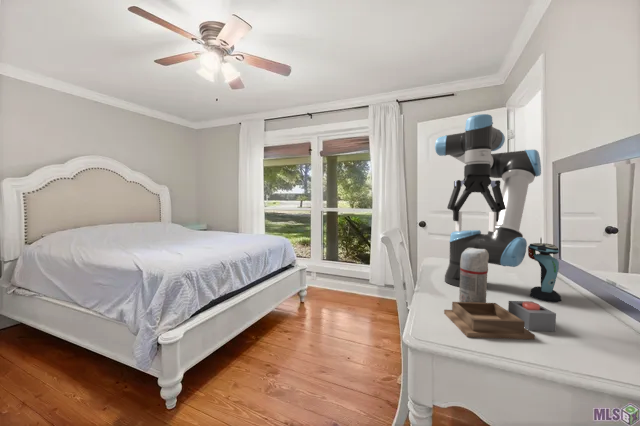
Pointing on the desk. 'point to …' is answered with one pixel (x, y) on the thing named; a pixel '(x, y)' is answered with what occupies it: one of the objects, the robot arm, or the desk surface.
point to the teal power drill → (545, 271)
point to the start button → (531, 305)
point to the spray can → (473, 275)
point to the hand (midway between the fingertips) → (475, 231)
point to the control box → (533, 317)
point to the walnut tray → (487, 321)
